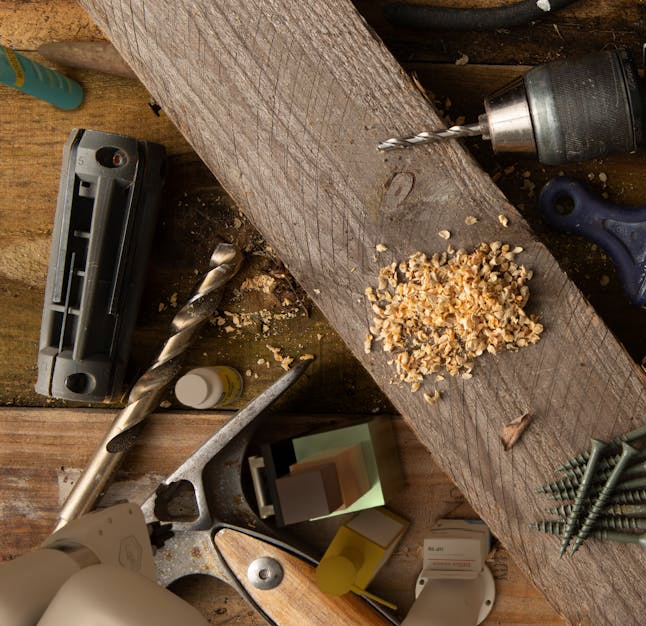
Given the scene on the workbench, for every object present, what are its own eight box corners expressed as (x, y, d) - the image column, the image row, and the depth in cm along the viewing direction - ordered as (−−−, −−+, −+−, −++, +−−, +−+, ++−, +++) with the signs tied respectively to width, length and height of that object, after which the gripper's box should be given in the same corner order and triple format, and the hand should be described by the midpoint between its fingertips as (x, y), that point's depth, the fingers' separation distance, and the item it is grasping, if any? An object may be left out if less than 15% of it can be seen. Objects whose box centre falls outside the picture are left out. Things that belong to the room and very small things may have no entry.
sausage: (133, 51, 119) (154, 34, 124) (16, 34, 119) (41, 18, 124) (145, 89, 124) (165, 71, 128) (33, 73, 124) (56, 56, 128)
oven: (337, 501, 127) (309, 521, 114) (321, 427, 127) (292, 439, 114) (405, 486, 127) (385, 504, 114) (389, 412, 127) (367, 423, 114)
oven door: (306, 507, 127) (255, 531, 115) (290, 434, 127) (238, 450, 115) (334, 501, 126) (286, 525, 114) (319, 428, 126) (269, 444, 114)
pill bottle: (240, 407, 126) (207, 415, 115) (201, 399, 126) (165, 407, 115) (248, 369, 126) (216, 373, 115) (209, 361, 126) (174, 365, 115)
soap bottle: (417, 578, 127) (379, 637, 103) (348, 539, 127) (295, 589, 103) (439, 539, 127) (407, 588, 103) (370, 500, 127) (323, 540, 103)
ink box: (491, 519, 127) (479, 545, 112) (490, 550, 127) (478, 580, 112) (437, 518, 127) (419, 544, 112) (437, 549, 127) (418, 579, 112)
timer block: (343, 504, 102) (330, 515, 96) (300, 514, 102) (284, 525, 96) (334, 461, 102) (320, 470, 96) (291, 471, 102) (274, 479, 96)
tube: (94, 106, 126) (7, 67, 107) (67, 122, 126) (-25, 86, 107) (69, 66, 126) (-22, 20, 107) (43, 82, 126) (-54, 39, 107)
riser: (371, 489, 114) (346, 509, 102) (330, 499, 114) (300, 519, 102) (360, 442, 114) (335, 456, 102) (319, 451, 114) (289, 466, 102)
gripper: (114, 651, 75) (206, 586, 93) (82, 496, 75) (179, 462, 93) (35, 669, 75) (143, 600, 93) (3, 514, 75) (116, 476, 93)
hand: (161, 531), depth 93 cm, fingers closed
